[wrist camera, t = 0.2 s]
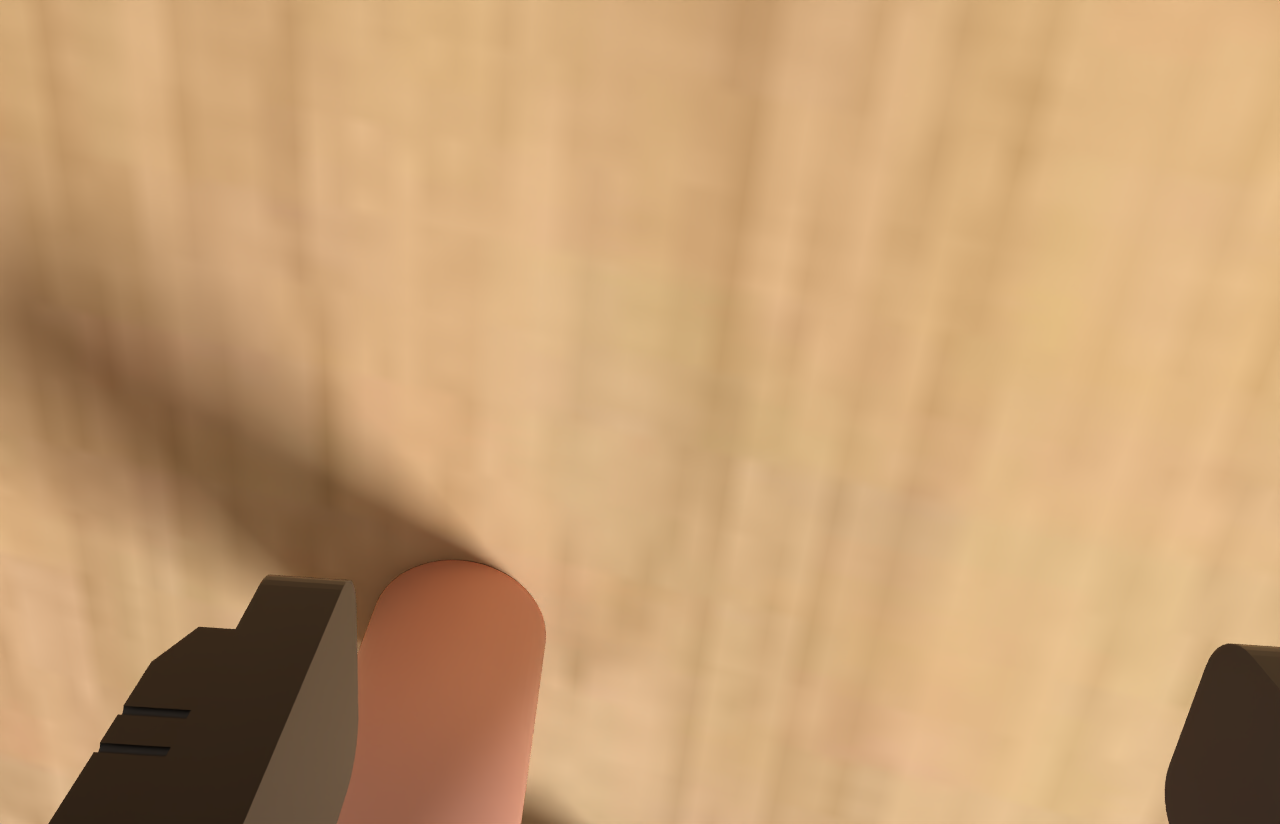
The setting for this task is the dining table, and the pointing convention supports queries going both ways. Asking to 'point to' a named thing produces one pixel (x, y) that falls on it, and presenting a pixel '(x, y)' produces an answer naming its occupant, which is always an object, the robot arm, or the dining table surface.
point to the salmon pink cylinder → (446, 699)
